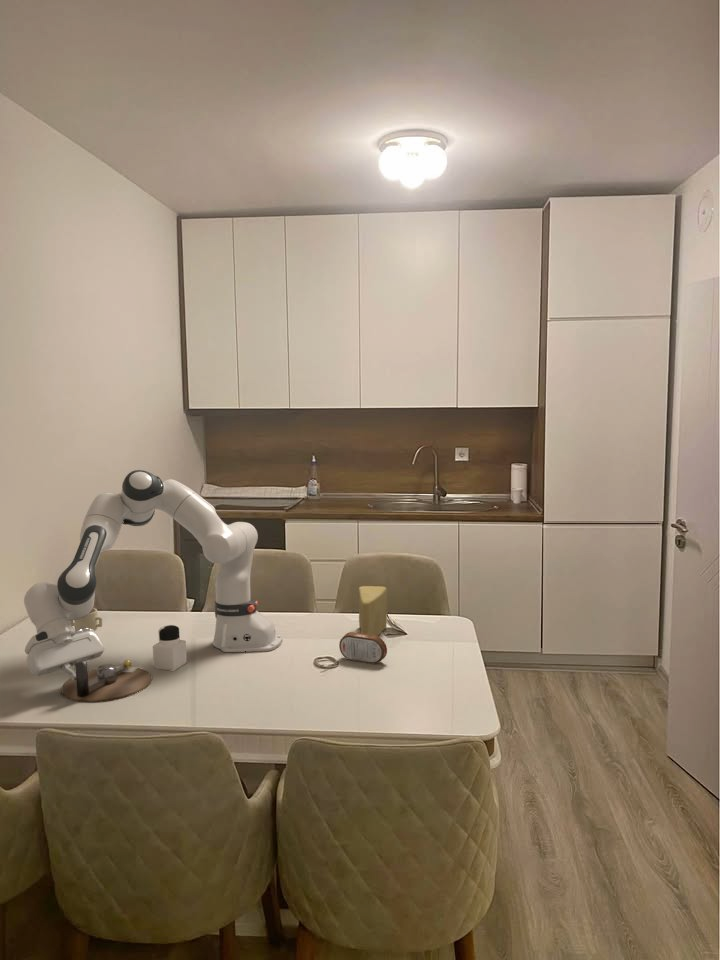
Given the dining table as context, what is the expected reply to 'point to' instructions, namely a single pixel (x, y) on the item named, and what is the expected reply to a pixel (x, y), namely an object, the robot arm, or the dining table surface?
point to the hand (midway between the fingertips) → (78, 678)
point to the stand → (111, 685)
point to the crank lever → (104, 676)
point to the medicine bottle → (169, 649)
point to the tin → (363, 647)
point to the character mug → (88, 621)
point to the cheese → (372, 609)
